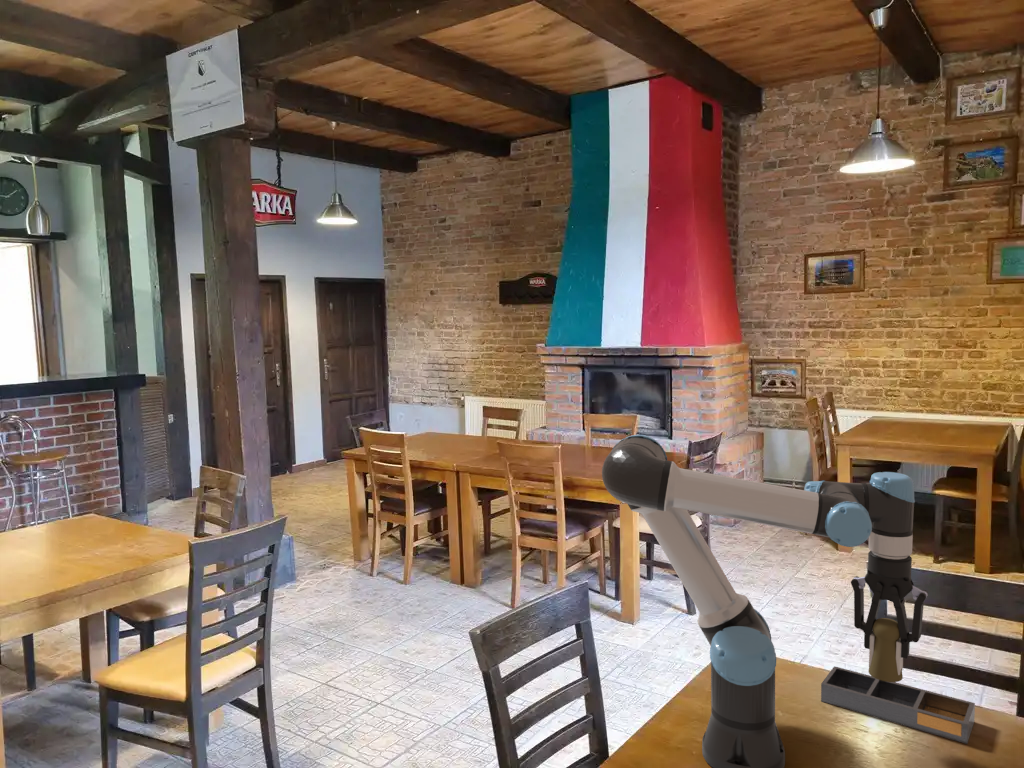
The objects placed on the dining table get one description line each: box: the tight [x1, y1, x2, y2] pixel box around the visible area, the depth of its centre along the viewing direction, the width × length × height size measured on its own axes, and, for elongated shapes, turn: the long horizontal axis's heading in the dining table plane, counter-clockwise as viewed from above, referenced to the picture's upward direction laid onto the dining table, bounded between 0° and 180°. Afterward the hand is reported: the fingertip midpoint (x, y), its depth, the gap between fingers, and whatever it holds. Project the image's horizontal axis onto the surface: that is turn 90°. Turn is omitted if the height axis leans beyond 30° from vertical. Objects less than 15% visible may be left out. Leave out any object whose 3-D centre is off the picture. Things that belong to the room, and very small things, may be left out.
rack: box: [820, 666, 976, 745], centre depth 155 cm, size 27×10×4 cm, turn 51°
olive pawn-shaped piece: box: [868, 617, 904, 683], centre depth 145 cm, size 6×6×11 cm
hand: (885, 668), depth 145 cm, fingers closed on olive pawn-shaped piece, 4 cm apart
